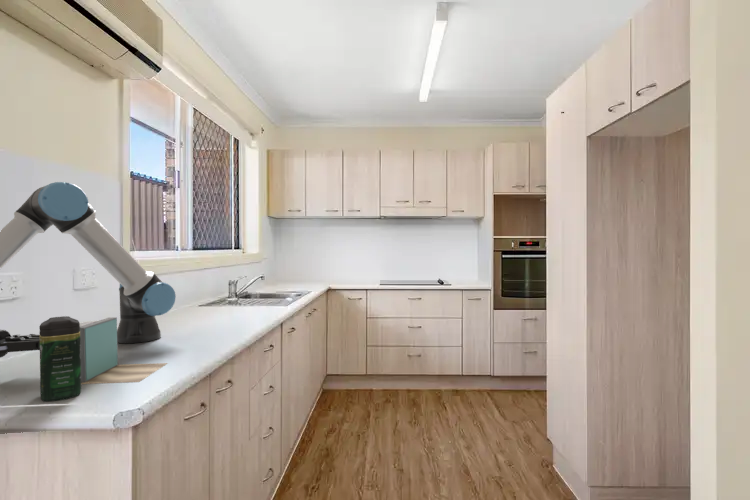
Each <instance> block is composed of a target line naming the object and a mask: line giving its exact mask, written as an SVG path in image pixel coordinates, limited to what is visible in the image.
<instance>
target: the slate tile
mask: <svg viewBox="0 0 750 500" xmlns="http://www.w3.org/2000/svg"><path fill="white" fill-rule="evenodd" d="M95 321H96V322H93V323H90V324H86V325H83V326H80V338H81V383H85V382H87V381H89V380H91V379H93V378H95V377H97V376H99V375H101V374H102V373H104V372H106V371H108V370H110V369H112V368H114V367H116V366H118V365H119V364H118V362H119V361H118V360H119V358H118V356H119V355H118V343H117V329H118V318H117V317H106V318H104V319H99V320H95Z"/></svg>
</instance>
